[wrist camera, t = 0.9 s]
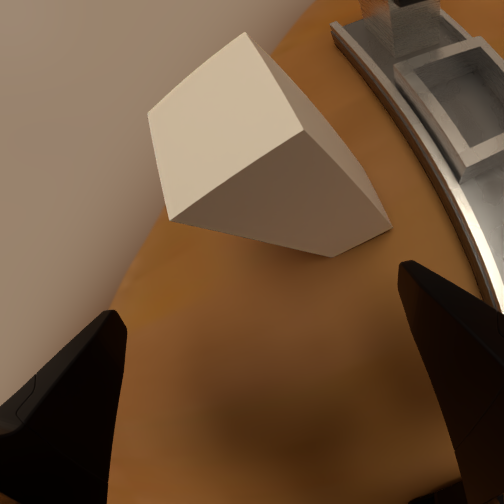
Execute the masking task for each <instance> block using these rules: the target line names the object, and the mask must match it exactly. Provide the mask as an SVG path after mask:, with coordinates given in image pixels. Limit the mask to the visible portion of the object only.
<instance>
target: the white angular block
mask: <svg viewBox="0 0 504 504" xmlns="http://www.w3.org/2000/svg"><path fill="white" fill-rule="evenodd" d="M147 114H148V120H149V125H150V131H151V136H152V142H153V146H154V152H155V157H156V162H157V167H158V171H159V176H160V181H161V185H162V190H163V194H164V198H165V203H166V208H167V212H168V216H169V220H170V221H173V222H177V223H182V224H186V225H191V226H195V227H200V228H204V229H209V230H213V231H218V232H222V233H227V234H231V235H236V236H240V237H244V238H249V239H253V240H258V241H262V242H266V243H271V244H275V245H279V246H284V247H288V248H292V249H297V250H301V251H305V252H310V253H314V254H318V255H322V256H327V257H331V258H333V257H335V256H337V255H339V254H341V253H343V252H345V251H347V250H349V249H351V248H353V247H355V246H357V245H359V244H361V243H363V242H365V241H367V240H369V239H371V238H373V237H375V236H377V235H379V234H381V233H383V232H385V231H387V230H389V229H391V228H393V227H392V224H391V222H390V220H389V218H388V216H387V214H386V212H385V210H384V208H383V206H382V204H381V202H380V200H379V198H378V196H377V194H376V192H375V190H374V188H373V186H372V184H371V182H370V180H369V178H368V176H367V174H366V172H365V171H364V169H363V167H362V166H361V164H360V163H359V162H358V160H357V159H356V158H355V156H354V155H353V154H352V152H351V151H350V150H349V148H348V147H347V146H346V144H345V143H344V142H343V140H342V139H341V138H340V137H339V135H338V134H337V133H336V131H335V130H334V129H333V128H332V126H331V125H330V124H329V123H328V121H327V120H326V119H325V118H324V117H323V115H322V114H321V113H320V112H319V111H318V109H317V108H316V107H315V106H314V105H313V103H312V102H311V101H310V100H309V99H308V98H307V96H306V95H305V94H304V93H303V92H302V91H301V90H300V88H299V87H298V86H297V85H296V84H295V83H294V82H293V81H292V79H291V78H290V77H289V76H288V75H287V74H286V73H285V72H284V71H283V70H282V69H281V68H280V67H279V65H278V64H277V63H276V62H275V61H274V60H273V59H272V58H271V57H270V56H269V55H268V54H267V53H266V52H265V51H264V50H263V49H262V48H261V47H260V46H259V45H258V44H257V43H256V42H255V41H254V40H253V39H252V38H251V37H250V36H249V35H248V34H247V33H246V32H244V33H243V34H241V35H240V36H238V37H237V38H236V39H234V40H233V41H231V42H230V43H229V44H227V45H226V46H225V47H223V48H222V49H221V50H220V51H218V52H217V53H216V54H214V55H213V56H212V57H211V58H209V59H208V60H207V61H206V62H204V63H203V64H202V65H201V66H200V67H198V68H197V69H196V70H195V71H194V72H193V73H191V74H190V75H189V76H188V77H186V78H185V79H184V80H183V81H182V82H181V83H180V84H178V85H177V86H176V87H175V88H174V89H173V90H172V91H171V92H170V93H169V94H167V95H166V96H165V97H164V98H163V99H162V100H161V101H160V102H159V103H158V104H157V105H156V106H155V107H153V108H152V109H151V110H150V111H149V112H148V113H147Z"/></svg>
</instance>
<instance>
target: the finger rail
mask: <svg viewBox="0 0 504 504" xmlns="http://www.w3.org/2000/svg"><path fill="white" fill-rule="evenodd" d="M359 3H360V7H361V11H362V15H363V19H361V20H359V21H356V22H353V23H351V24H348V25H345V26H343V27H342V26H341V25H340V24H339V23H338V22H337V21H335V22H333V23H330V27H331V30H332V31H331V34H332V37H333V40H334V43H335V45H336V46H337V47H338V48H339V49H340V50H341V52H342V53H343V54H344V55H345V56H346V58H347V59H348V60H349V61H350V62H351V64H352V65H353V66H354V67H355V69H356V70H357V71H358V72H359V74H360V75H361V76H362V77H363V79H364V80H365V81H366V83H367V84H368V85H369V86H370V88H371V89H372V90H373V92H374V93H375V95H376V96H377V97H378V99H379V100H380V101H381V103H382V104H383V106H384V107H385V108H386V110H387V111H388V113H389V114H390V116H391V117H392V119H393V120H394V122H395V123H396V125H397V126H398V128H399V129H400V131H401V132H402V134H403V135H404V137H405V138H406V140H407V142H408V143H409V145H410V146H411V148H412V150H413V151H414V153H415V155H416V156H417V158H418V160H419V161H420V163H421V165H422V166H423V168H424V170H425V172H426V173H427V175H428V177H429V179H430V181H431V182H432V184H433V186H434V188H435V190H436V192H437V194H438V195H439V197H440V199H441V201H442V203H443V205H444V207H445V209H446V211H447V213H448V215H449V217H450V219H451V222H452V224H453V226H454V228H455V230H456V232H457V234H458V237H459V239H460V241H461V243H462V246H463V248H464V250H465V253H466V255H467V258H468V260H469V262H470V265H471V267H472V270H473V273H474V275H475V278H476V280H477V283H478V286H479V289H480V291H481V294H482V297H483V300H484V302H485V303H486V304H488V305H489V306H491V307H493V308H494V309H496V311H499V312H501V313H502V314H504V60H503V59H502V58H501V57H500V56H499V55H498V54H497V52H496V51H495V50H494V49H493V48H492V47H491V46H490V45H489V44H488V43H487V42H486V41H485V40H484V39H483V38H482V37H481V36H478V37H474V38H473V37H471V36H470V35H469V34H468V33H467V32H466V31H465V30H464V29H463V28H462V27H461V26H460V25H459V24H458V23H457V22H456V21H454V20H453V19H452V18H451V17H450V16H449V15H448V14H447V13H445V12H444V11H443V10H442V9H441V8H440V0H359Z"/></svg>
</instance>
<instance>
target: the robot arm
mask: <svg viewBox="0 0 504 504" xmlns="http://www.w3.org/2000/svg"><path fill="white" fill-rule="evenodd" d="M397 285H398V291H399V295H400V298H401V301H402V304H403V307H404V310H405V313H406V317H407V320H408V323H409V326H410V330H411V333H412V335H413V338H414V340H415V343H416V345H417V347H418V350H419V352H420V355H421V357H422V360H423V362H424V365H425V367H426V370H427V372H428V375H429V377H430V380H431V383H432V385H433V388H434V391H435V394H436V396H437V399H438V402H439V405H440V408H441V411H442V413H443V416H444V419H445V422H446V425H447V429H448V432H449V435H450V438H451V441H452V445H453V448H454V450H455V455H456V459H457V462H458V466H459V470H460V473H461V477H462V482H460V483H457V484H455V485H452V486H450V487H447V488H445V489H442V490H439V491H437V492H435V493H432V494H430V495H427V496H424V497H421V498H418V499H414V500H412V501H410V502H409V503H408V504H504V314H502V313H501V312H499V311H496V309H494V308H493V307H491V306H489V305H488V304H486V303H485V302H483V301H481V300H480V299H478V298H477V297H475V296H473V295H472V294H470V293H468V292H467V291H465V290H463V289H462V288H460V287H458V286H457V285H455V284H453V283H452V282H450V281H448V280H447V279H445V278H443V277H441V276H440V275H438V274H436V273H435V272H433V271H431V270H429V269H428V268H426V267H424V266H422V265H421V264H419V263H417V262H415V261H413V260H409V261H404V262H401V263H400V264H399V271H398V284H397ZM126 342H127V328H126V326H125V324H124V323H123V321H122V319H121V318H120V316H119V314H118V313H117V311H115V310H106V311H103V312H102V313H101V314H100V315H99V316H98V317H96V318H95V319H94V320H93V321H92V322H91V323H90V324H89V325H87V326H86V327H85V328H84V329H83V330H82V331H81V332H80V333H79V334H78V335H76V336H75V337H74V338H73V339H72V340H71V341H70V342H69V343H68V344H67V345H66V346H65V347H63V348H62V350H60V351H59V352H58V353H57V354H56V355H55V356H54V357H53V358H52V359H51V360H50V361H49V362H48V363H47V364H45V366H43V368H41V369H40V370H39V371H38V372H37V374H35V375H34V376H33V377H32V378H31V379H30V380H29V381H28V382H27V383H26V384H25V385H24V386H23V387H22V388H21V389H20V390H18V391H17V392H16V393H15V394H14V395H13V396H12V397H10V398H9V399H8V400H7V401H6V402H5V403H3V404H2V405H1V406H0V504H107V493H108V479H109V469H110V460H111V451H112V443H113V436H114V429H115V422H116V415H117V409H118V402H119V396H120V390H121V385H122V379H123V373H124V364H125V352H126Z"/></svg>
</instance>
